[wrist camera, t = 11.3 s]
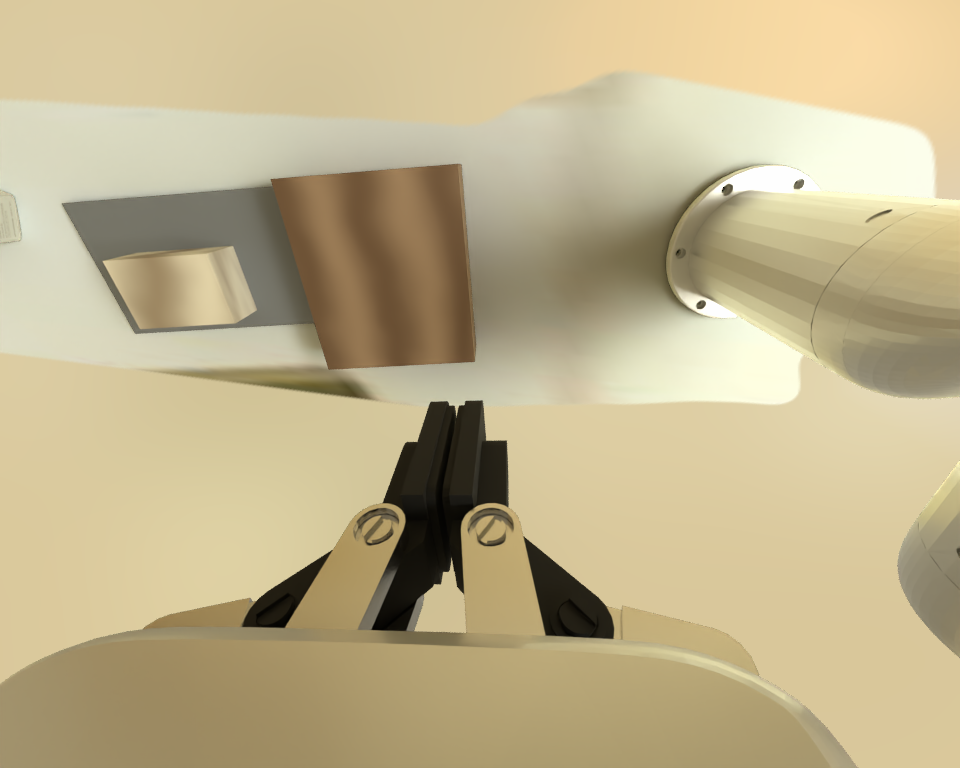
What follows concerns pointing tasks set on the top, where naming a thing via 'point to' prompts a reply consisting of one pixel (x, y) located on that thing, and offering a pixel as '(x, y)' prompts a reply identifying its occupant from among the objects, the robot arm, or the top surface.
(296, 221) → the step
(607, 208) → the top surface
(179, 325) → the beige rectangular block
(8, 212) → the skincare box
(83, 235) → the mat
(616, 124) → the top surface
